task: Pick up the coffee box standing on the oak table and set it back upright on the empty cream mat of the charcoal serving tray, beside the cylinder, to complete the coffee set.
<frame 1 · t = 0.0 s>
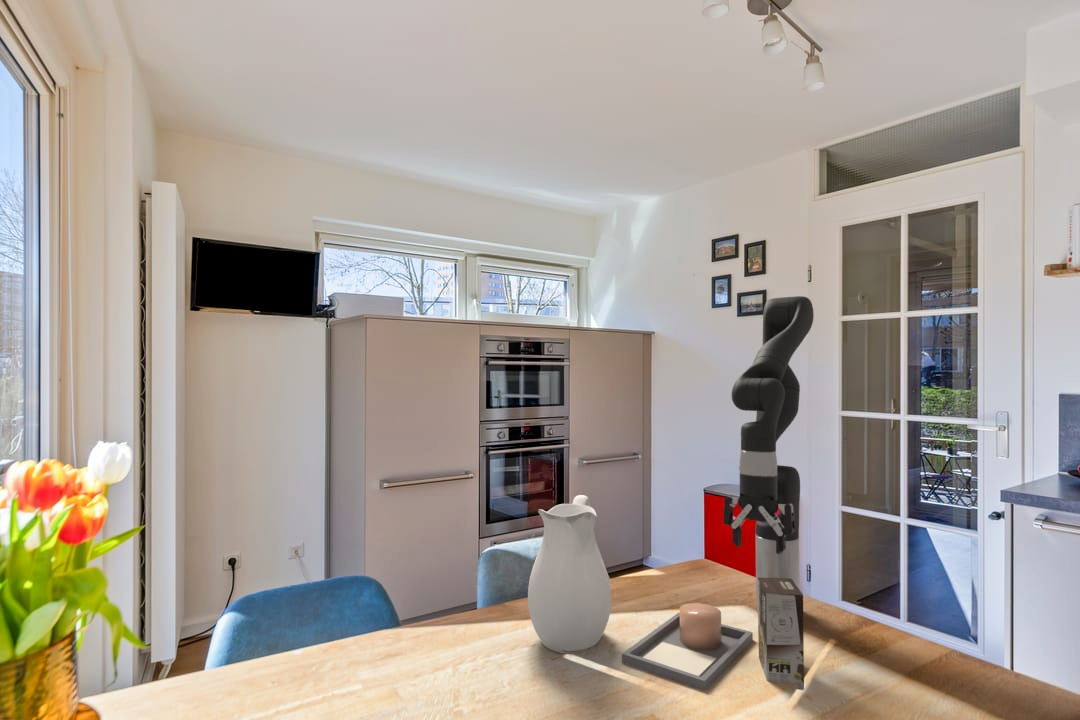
hand: (758, 549, 125), 17 cm above the table, tool pointing down, fingers open, 8 cm apart
serving tray: (689, 655, 114), on the table
pitcher: (574, 635, 123), on the table
coffee box: (780, 676, 106), on the table
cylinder: (700, 641, 118), point 1 cm above the table, touching serving tray
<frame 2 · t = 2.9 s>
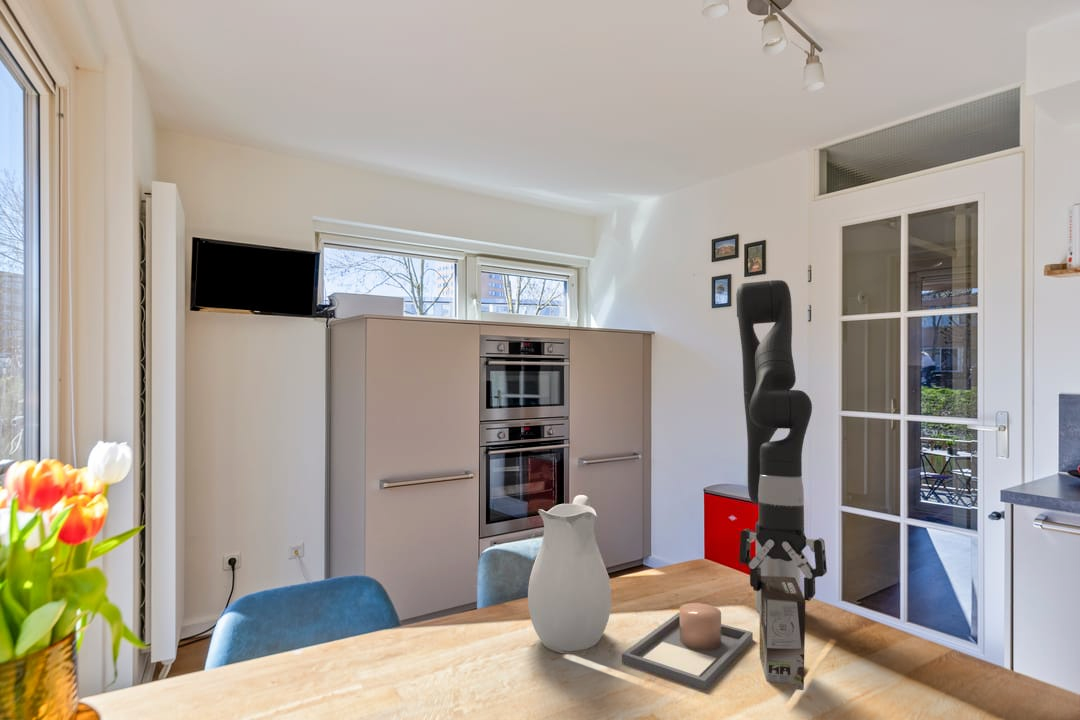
hand: (781, 594, 104), 15 cm above the table, tool pointing down, fingers open, 8 cm apart
coffee box: (780, 673, 106), on the table, touching gripper
everything else where it was.
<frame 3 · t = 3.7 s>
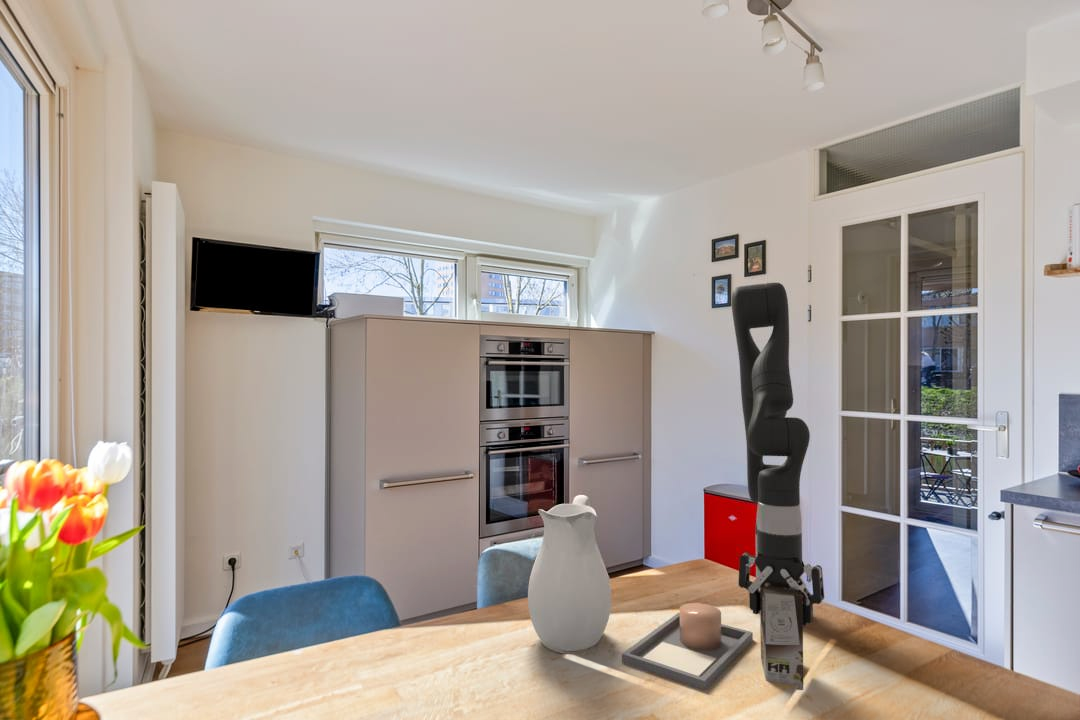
hand: (780, 618, 107), 10 cm above the table, tool pointing down, fingers closed on coffee box, 8 cm apart
coffee box: (781, 676, 106), on the table, touching gripper
everything else where it was.
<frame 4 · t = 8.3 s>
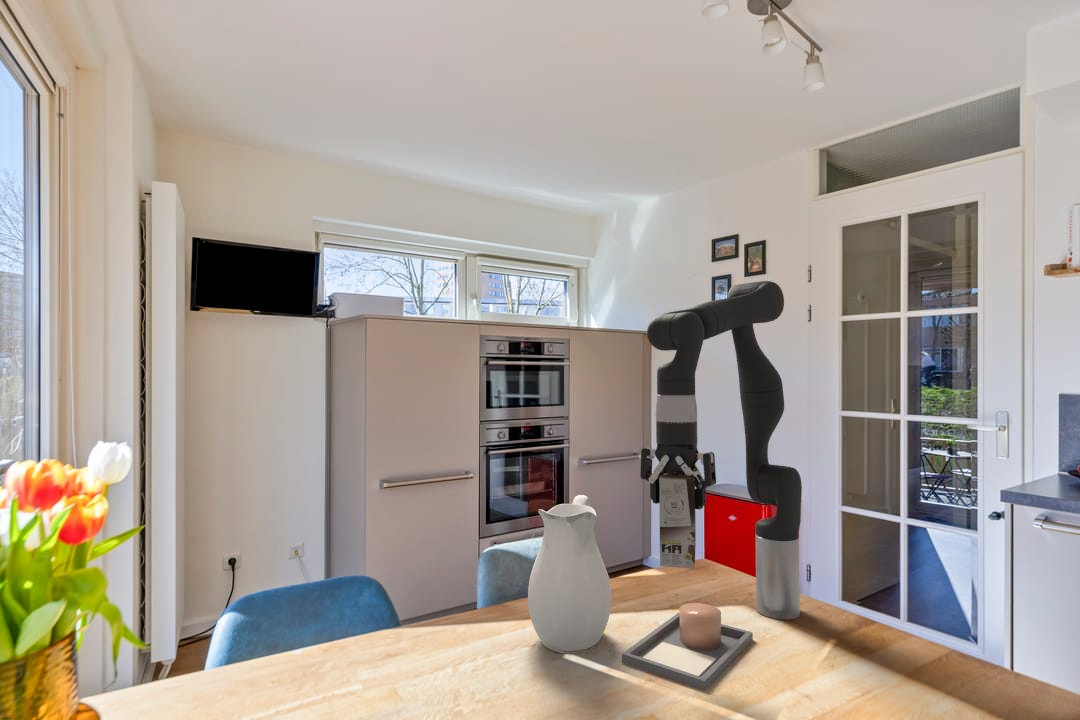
hand: (677, 505, 111), 30 cm above the table, tool pointing down, fingers closed on coffee box, 8 cm apart
coffee box: (678, 561, 111), point 19 cm above the table, touching gripper
everything else where it was.
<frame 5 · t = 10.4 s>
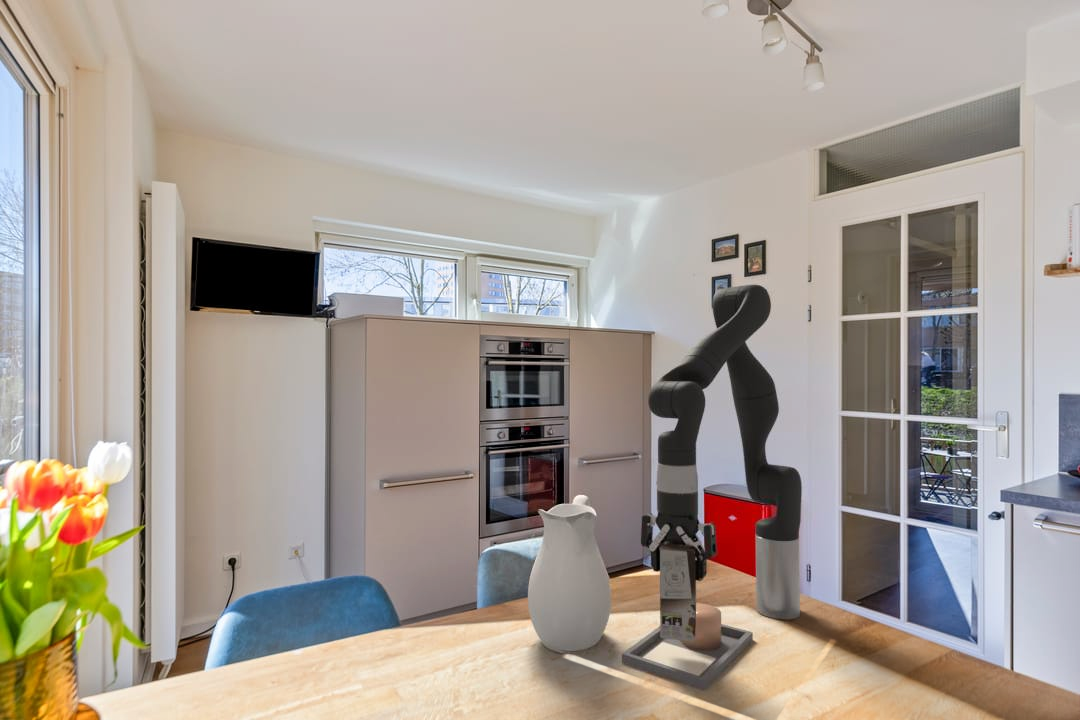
hand: (678, 575, 111), 17 cm above the table, tool pointing down, fingers closed on coffee box, 8 cm apart
coffee box: (678, 631, 110), point 6 cm above the table, touching gripper
everything else where it was.
when the fingers open (12 cm above the table, at t = 12.5 s): coffee box stays where it is, resting on serving tray.
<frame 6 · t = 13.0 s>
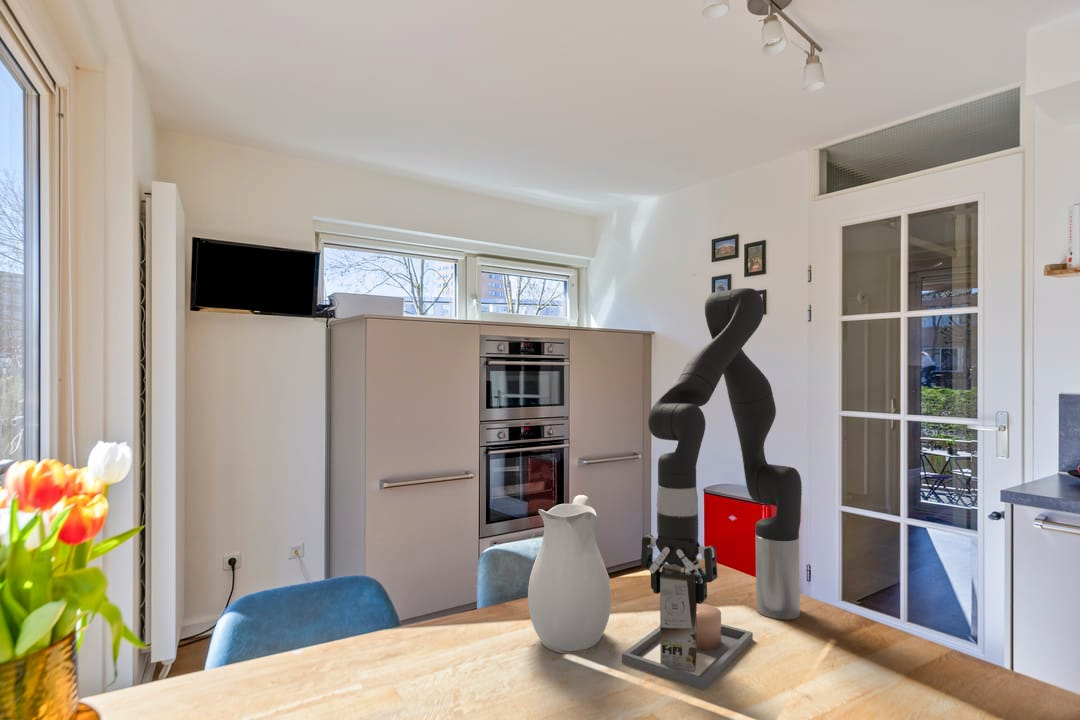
hand: (678, 597, 110), 13 cm above the table, tool pointing down, fingers open, 8 cm apart
coffee box: (679, 659, 110), point 1 cm above the table, touching serving tray
everything else where it was.
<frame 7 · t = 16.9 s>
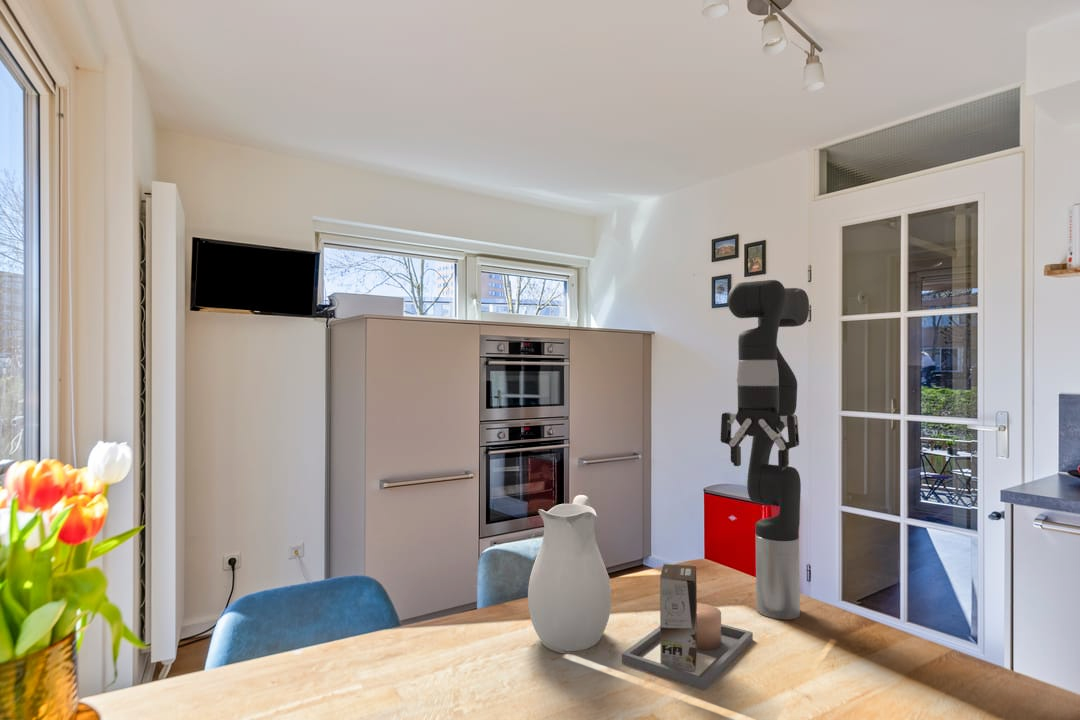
hand: (759, 467, 114), 36 cm above the table, tool pointing down, fingers open, 8 cm apart
nothing on the table moved.
at the end: coffee box 0.1 cm from the target spot on the serving tray, point 1.1 cm above the serving tray's base; coffee box tilted 0°; the gripper is holding nothing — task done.
